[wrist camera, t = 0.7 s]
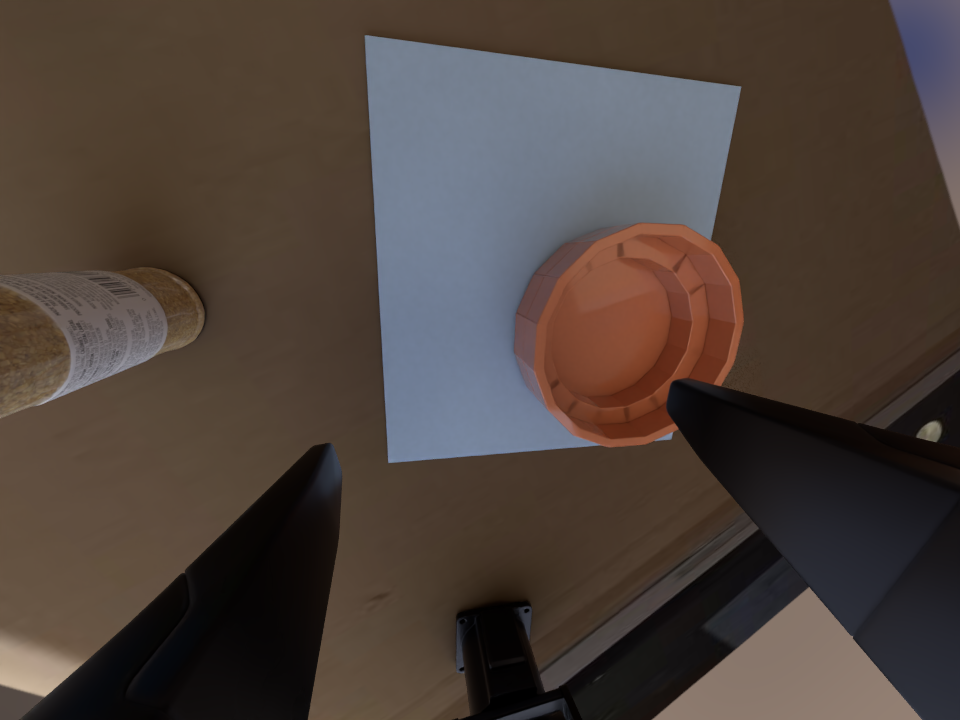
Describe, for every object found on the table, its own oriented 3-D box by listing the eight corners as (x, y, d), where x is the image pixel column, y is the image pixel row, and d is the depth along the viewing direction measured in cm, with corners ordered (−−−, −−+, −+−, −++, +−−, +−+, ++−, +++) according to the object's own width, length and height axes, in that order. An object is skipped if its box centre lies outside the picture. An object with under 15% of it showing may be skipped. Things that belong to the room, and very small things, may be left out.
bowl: (669, 410, 28) (716, 438, 24) (507, 421, 25) (527, 454, 21) (703, 232, 24) (766, 228, 20) (517, 224, 22) (544, 217, 17)
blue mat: (668, 437, 29) (671, 439, 28) (388, 460, 24) (388, 463, 24) (737, 88, 22) (741, 86, 21) (365, 38, 18) (364, 34, 17)
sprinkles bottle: (93, 313, 19) (-570, 438, 6) (142, 247, 18) (-457, 232, 6) (179, 365, 20) (-206, 552, 8) (227, 305, 20) (-96, 396, 7)
